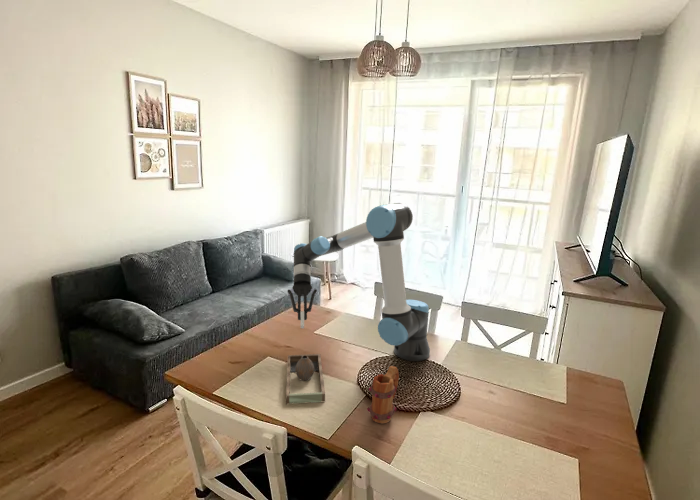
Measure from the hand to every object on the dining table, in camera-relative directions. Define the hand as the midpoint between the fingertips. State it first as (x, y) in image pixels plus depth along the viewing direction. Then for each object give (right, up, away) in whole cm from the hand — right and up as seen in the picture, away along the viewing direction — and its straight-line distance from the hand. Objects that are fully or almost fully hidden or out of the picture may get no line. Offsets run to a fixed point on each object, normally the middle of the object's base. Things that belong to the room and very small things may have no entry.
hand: (302, 327), depth 163 cm
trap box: (+3, -17, -16) cm, 23 cm away
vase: (+3, -16, -15) cm, 22 cm away
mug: (+31, -22, -35) cm, 51 cm away
